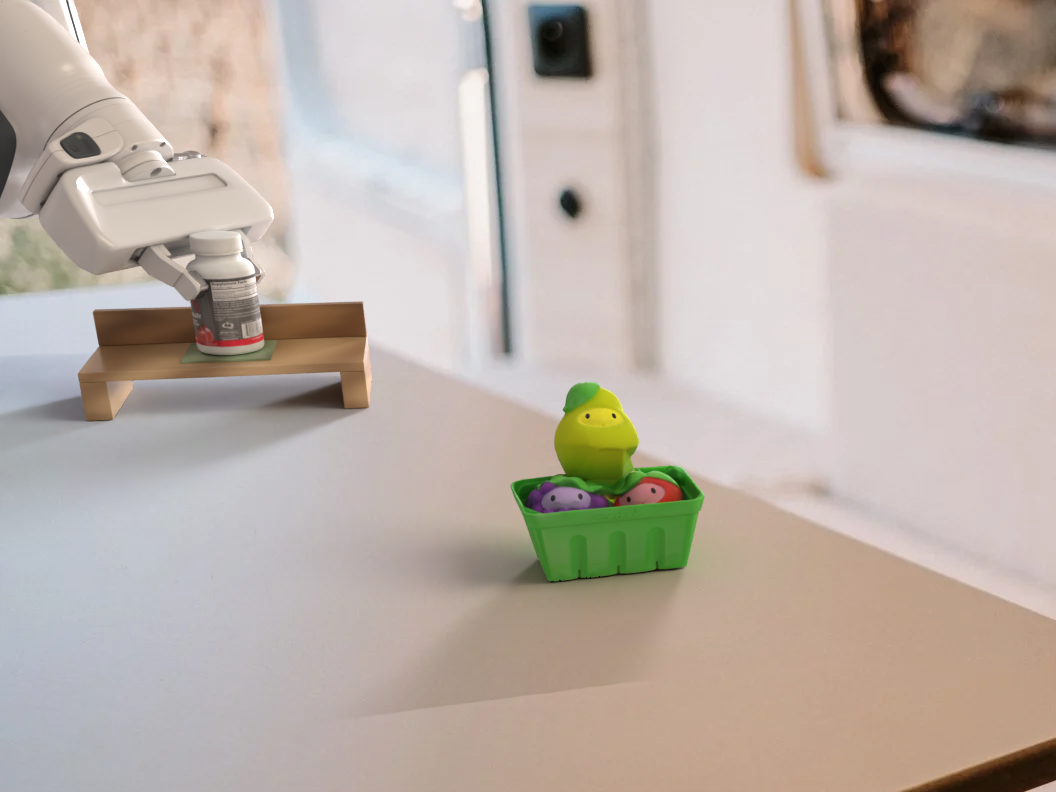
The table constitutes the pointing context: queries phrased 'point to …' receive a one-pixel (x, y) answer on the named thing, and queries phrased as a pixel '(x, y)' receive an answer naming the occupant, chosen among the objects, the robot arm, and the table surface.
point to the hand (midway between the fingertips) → (228, 287)
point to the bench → (171, 353)
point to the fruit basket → (606, 498)
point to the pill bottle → (225, 296)
